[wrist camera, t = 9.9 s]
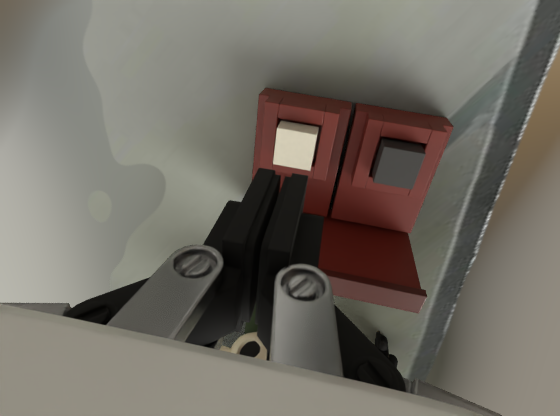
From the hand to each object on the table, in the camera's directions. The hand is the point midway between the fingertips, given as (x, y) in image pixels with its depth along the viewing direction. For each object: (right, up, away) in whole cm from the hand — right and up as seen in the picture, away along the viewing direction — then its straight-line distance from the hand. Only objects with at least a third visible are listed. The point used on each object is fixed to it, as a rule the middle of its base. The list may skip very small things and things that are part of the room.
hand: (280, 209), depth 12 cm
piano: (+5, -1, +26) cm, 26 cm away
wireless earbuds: (+14, -18, +35) cm, 41 cm away
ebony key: (+10, +4, +17) cm, 20 cm away
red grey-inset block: (+10, +4, +22) cm, 24 cm away
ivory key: (+1, +6, +18) cm, 18 cm away
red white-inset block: (+2, +6, +22) cm, 23 cm away
